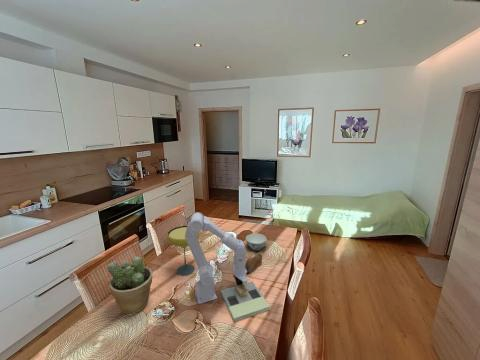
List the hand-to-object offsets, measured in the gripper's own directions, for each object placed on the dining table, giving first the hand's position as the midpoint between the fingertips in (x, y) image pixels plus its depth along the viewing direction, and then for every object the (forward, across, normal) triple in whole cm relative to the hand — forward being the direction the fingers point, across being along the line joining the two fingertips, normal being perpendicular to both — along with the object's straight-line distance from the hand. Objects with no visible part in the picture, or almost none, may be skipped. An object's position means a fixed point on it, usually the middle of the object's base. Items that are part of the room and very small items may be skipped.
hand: (239, 287), depth 114 cm
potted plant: (+3, +12, +50) cm, 51 cm away
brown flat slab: (+3, +16, -16) cm, 23 cm away
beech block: (+1, -3, 0) cm, 4 cm away
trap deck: (+3, -6, 0) cm, 7 cm away
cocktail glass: (+3, +30, +23) cm, 38 cm away
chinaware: (+3, +37, -28) cm, 47 cm away
